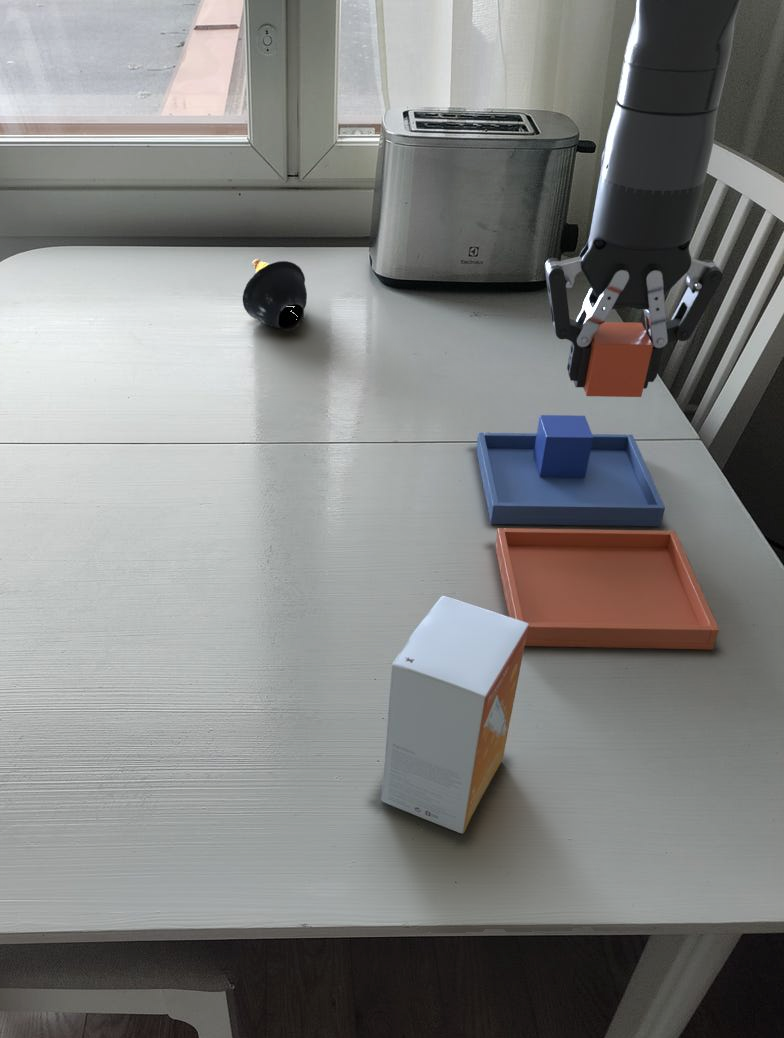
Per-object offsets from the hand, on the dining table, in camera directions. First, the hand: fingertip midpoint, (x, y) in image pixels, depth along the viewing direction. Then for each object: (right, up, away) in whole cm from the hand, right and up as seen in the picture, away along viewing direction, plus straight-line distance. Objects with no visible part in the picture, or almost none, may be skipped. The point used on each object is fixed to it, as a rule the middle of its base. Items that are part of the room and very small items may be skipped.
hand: (609, 383), depth 85 cm
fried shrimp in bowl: (-30, +23, +50) cm, 63 cm away
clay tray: (0, -18, +2) cm, 18 cm away
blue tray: (0, -6, +16) cm, 17 cm away
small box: (-16, -32, -14) cm, 39 cm away
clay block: (0, 0, 0) cm, 0 cm away
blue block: (0, -4, +18) cm, 18 cm away
